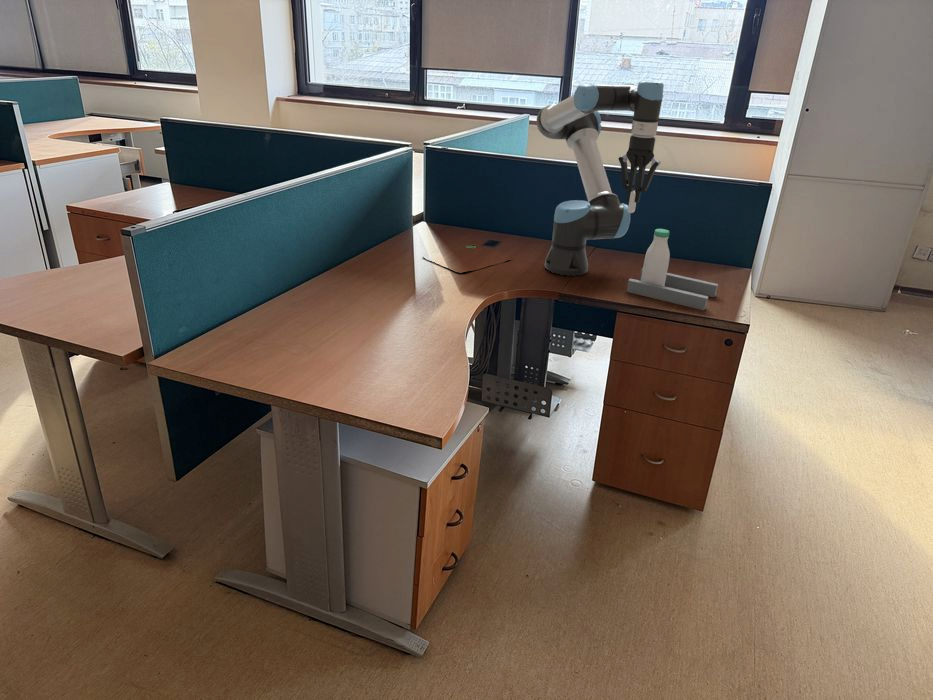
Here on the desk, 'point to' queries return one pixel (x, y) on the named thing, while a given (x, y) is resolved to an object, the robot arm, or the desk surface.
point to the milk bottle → (657, 259)
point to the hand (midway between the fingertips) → (631, 211)
